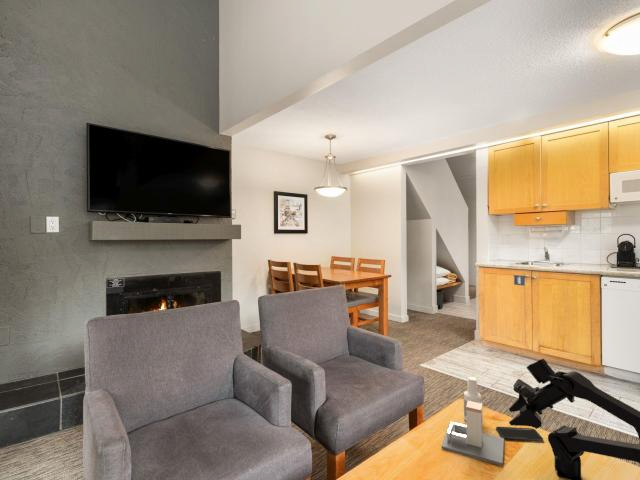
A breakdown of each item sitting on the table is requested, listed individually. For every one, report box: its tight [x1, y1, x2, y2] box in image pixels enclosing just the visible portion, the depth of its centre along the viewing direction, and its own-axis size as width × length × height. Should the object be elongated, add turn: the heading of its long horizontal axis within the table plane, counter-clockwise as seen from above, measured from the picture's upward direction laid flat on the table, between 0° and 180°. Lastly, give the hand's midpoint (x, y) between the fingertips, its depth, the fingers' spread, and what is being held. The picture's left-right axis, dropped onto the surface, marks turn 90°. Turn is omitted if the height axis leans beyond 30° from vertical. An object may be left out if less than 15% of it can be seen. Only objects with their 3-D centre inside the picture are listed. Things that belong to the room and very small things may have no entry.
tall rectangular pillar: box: [466, 401, 484, 447], centre depth 128 cm, size 5×5×14 cm
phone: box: [495, 426, 544, 443], centre depth 134 cm, size 8×1×15 cm
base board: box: [441, 424, 505, 467], centre depth 129 cm, size 20×16×1 cm
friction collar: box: [446, 421, 467, 447], centre depth 131 cm, size 7×9×4 cm
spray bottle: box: [463, 376, 482, 422], centre depth 145 cm, size 7×7×18 cm
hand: (509, 417), depth 122 cm, fingers open, 9 cm apart
